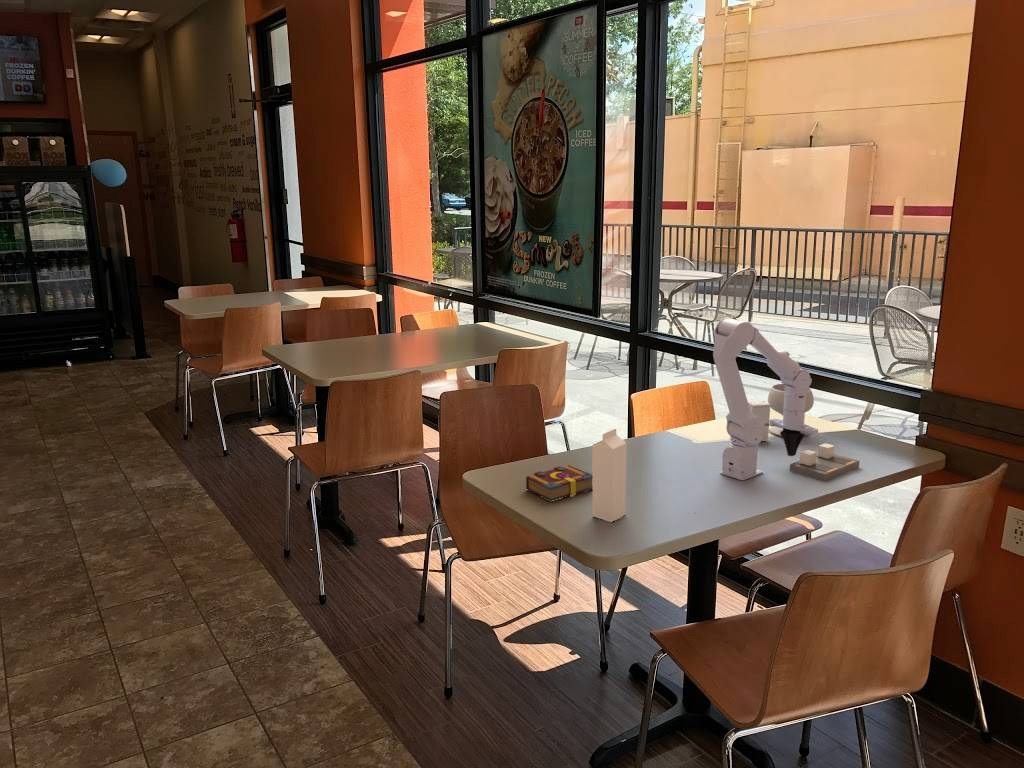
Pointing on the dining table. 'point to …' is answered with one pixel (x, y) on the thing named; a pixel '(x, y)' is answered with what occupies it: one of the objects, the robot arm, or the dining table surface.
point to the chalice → (778, 403)
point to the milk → (609, 477)
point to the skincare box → (761, 415)
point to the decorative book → (559, 482)
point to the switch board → (825, 467)
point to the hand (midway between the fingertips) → (791, 455)
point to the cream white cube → (808, 457)
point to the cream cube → (826, 451)
